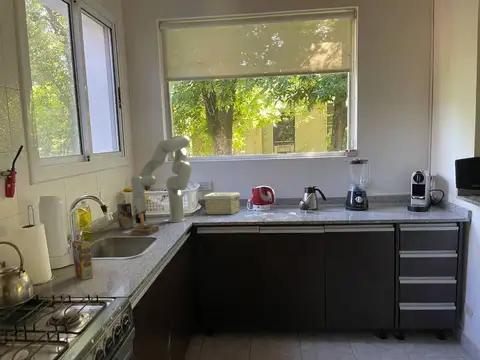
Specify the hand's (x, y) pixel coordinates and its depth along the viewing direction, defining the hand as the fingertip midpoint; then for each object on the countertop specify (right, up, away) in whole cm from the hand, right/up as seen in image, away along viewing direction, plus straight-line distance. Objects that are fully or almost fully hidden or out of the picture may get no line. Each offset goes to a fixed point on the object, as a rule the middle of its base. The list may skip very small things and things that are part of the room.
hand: (140, 221), depth 244 cm
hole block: (+6, -5, -13) cm, 16 cm away
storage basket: (+52, +2, +39) cm, 65 cm away
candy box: (-1, -14, -87) cm, 88 cm away
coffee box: (-11, -5, +6) cm, 14 cm away
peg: (0, -4, 0) cm, 4 cm away
